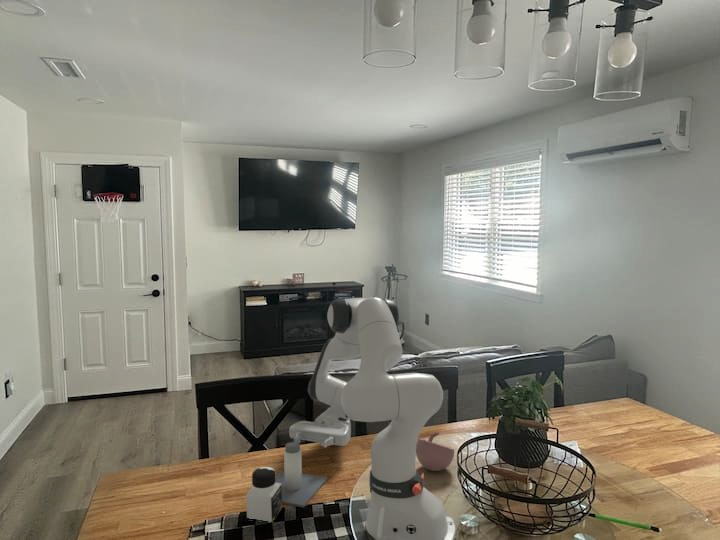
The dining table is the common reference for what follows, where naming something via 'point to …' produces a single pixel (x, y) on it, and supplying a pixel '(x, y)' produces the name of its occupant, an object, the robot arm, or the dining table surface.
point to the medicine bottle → (264, 495)
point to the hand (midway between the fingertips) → (309, 442)
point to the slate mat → (301, 489)
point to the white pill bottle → (293, 466)
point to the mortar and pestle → (434, 454)
